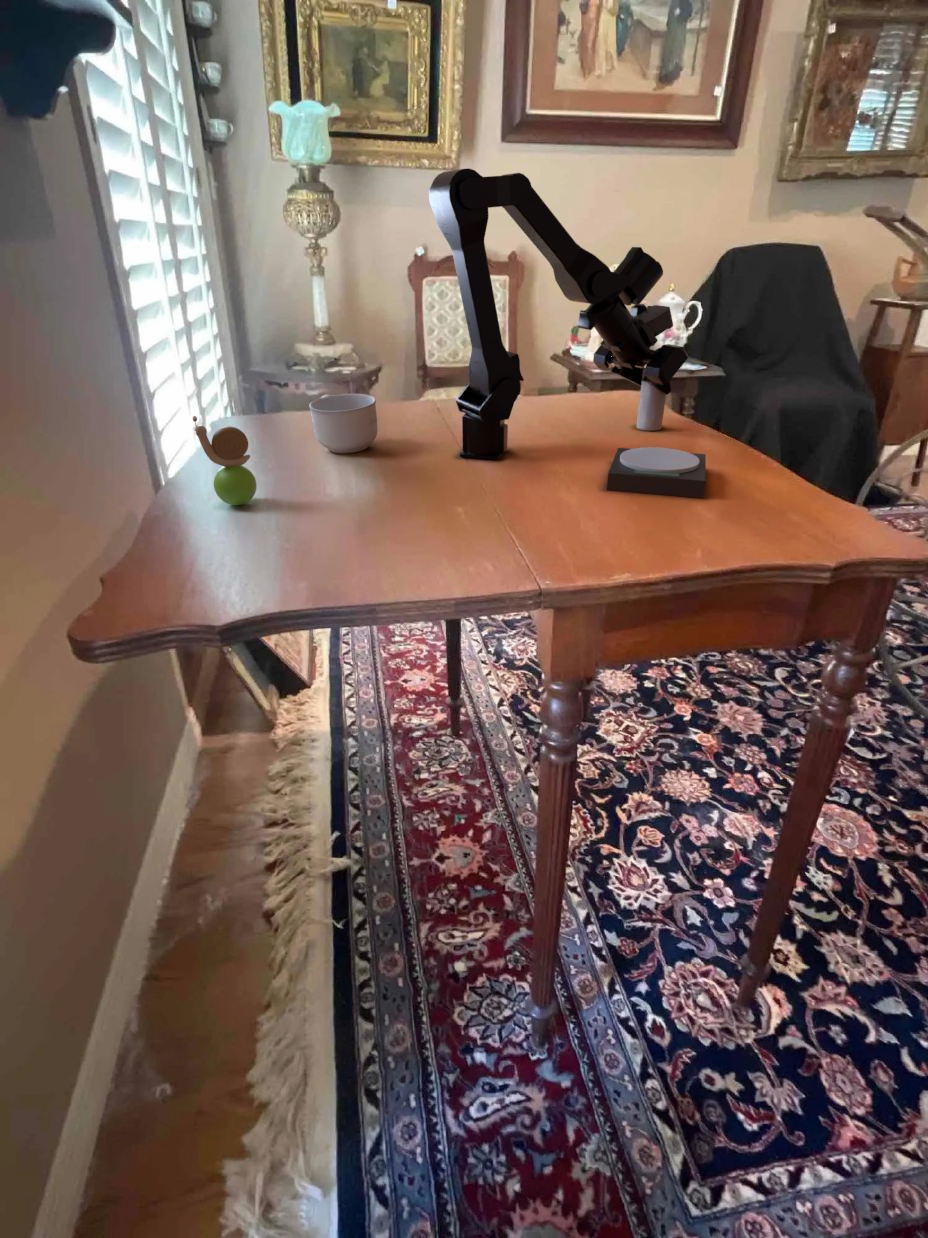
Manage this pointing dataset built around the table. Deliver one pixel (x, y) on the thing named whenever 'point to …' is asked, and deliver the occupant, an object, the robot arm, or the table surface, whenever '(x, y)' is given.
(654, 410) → the grey cylindrical piece
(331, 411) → the teacup
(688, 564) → the table surface
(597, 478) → the table surface
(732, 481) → the table surface
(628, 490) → the scale
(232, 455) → the snail figurine
